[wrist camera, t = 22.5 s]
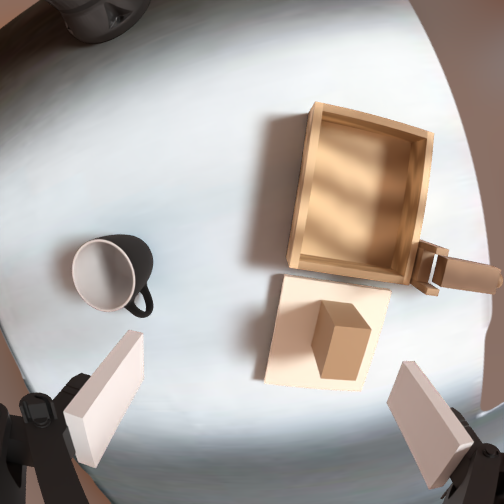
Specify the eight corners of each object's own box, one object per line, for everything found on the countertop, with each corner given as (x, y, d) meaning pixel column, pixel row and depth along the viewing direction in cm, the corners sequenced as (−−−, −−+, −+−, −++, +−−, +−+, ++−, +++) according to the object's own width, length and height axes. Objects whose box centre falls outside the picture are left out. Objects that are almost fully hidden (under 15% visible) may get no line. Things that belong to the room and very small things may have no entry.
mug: (96, 248, 45) (59, 263, 35) (139, 216, 44) (108, 223, 34) (138, 315, 47) (111, 343, 37) (184, 287, 46) (164, 313, 36)
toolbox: (308, 112, 41) (321, 90, 30) (426, 142, 41) (464, 133, 30) (286, 257, 44) (292, 277, 34) (404, 275, 44) (437, 297, 34)
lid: (283, 272, 45) (290, 298, 34) (386, 286, 45) (418, 313, 34) (264, 375, 48) (263, 420, 37) (357, 384, 48) (376, 426, 37)
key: (438, 254, 36) (447, 258, 34) (496, 266, 36) (506, 270, 34) (431, 281, 37) (440, 286, 34) (490, 290, 37) (500, 295, 34)
